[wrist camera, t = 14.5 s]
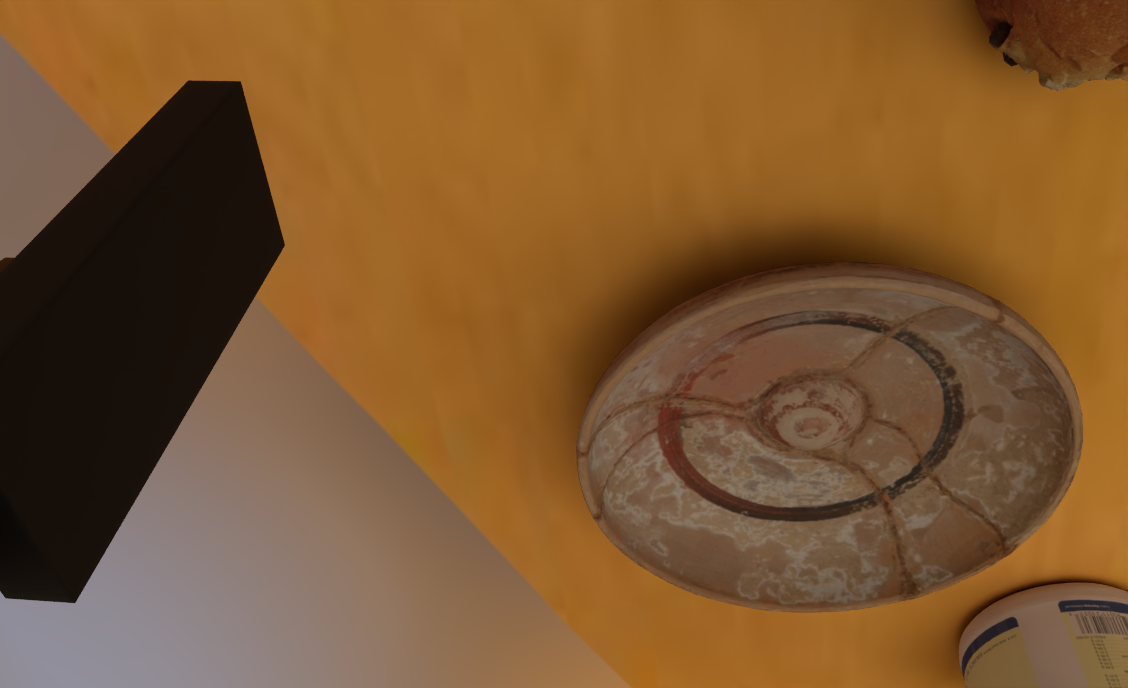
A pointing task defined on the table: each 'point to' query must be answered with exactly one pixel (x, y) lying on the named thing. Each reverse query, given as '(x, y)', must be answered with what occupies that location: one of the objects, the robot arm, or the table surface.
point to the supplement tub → (1049, 639)
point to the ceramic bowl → (829, 438)
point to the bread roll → (1061, 38)
